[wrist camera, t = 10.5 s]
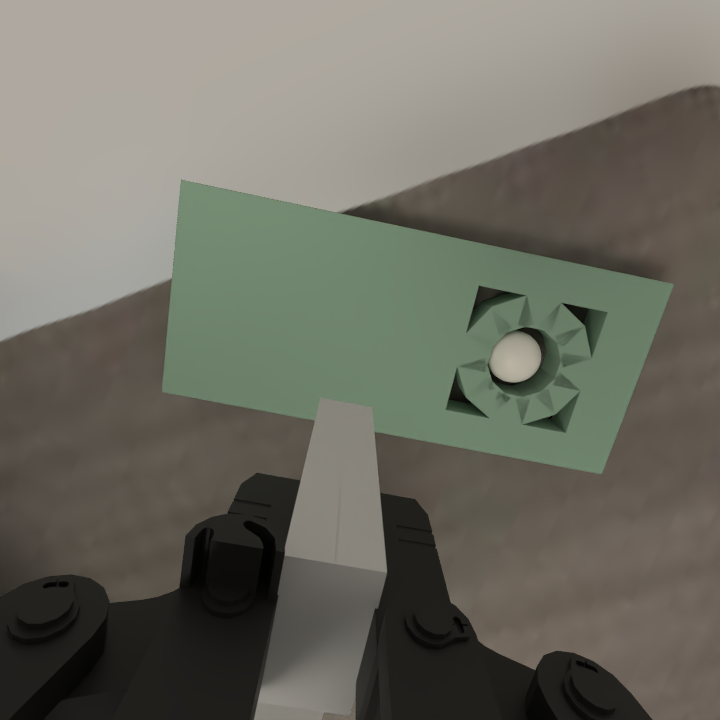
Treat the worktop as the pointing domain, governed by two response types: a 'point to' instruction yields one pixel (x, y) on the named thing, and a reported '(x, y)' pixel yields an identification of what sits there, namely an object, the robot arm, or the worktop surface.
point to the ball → (515, 357)
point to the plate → (399, 328)
